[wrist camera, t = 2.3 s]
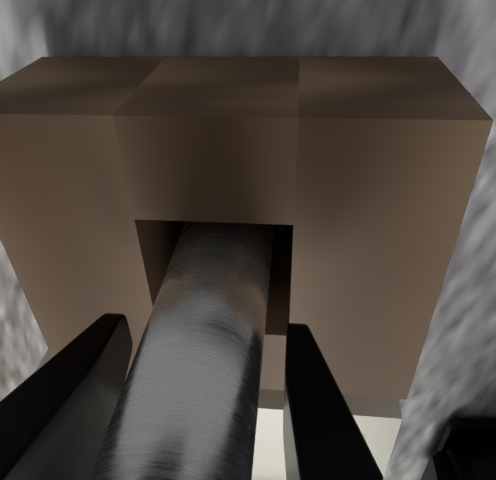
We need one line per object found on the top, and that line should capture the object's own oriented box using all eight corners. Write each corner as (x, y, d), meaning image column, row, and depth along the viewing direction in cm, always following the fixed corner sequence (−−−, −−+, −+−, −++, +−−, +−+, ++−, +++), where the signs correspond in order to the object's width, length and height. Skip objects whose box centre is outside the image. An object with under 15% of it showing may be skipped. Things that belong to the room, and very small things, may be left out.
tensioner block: (437, 56, 11) (493, 120, 8) (385, 297, 16) (406, 399, 12) (42, 56, 12) (-55, 113, 9) (107, 284, 17) (60, 374, 13)
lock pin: (277, 158, 13) (236, 573, 5) (276, 227, 14) (243, 635, 6) (195, 157, 13) (26, 551, 5) (202, 225, 15) (79, 615, 7)
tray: (388, 346, 17) (402, 419, 15) (350, 502, 25) (355, 566, 22) (60, 327, 18) (23, 390, 16) (122, 481, 26) (103, 539, 24)
